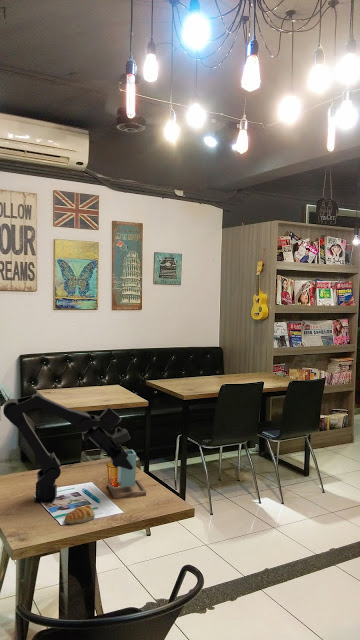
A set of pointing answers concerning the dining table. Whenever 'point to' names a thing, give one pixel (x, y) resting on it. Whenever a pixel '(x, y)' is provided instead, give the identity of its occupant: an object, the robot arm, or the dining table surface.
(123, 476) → the light blue square vase
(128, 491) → the tray
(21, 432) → the robot arm
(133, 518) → the dining table surface
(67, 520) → the pastry
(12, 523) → the dining table surface
